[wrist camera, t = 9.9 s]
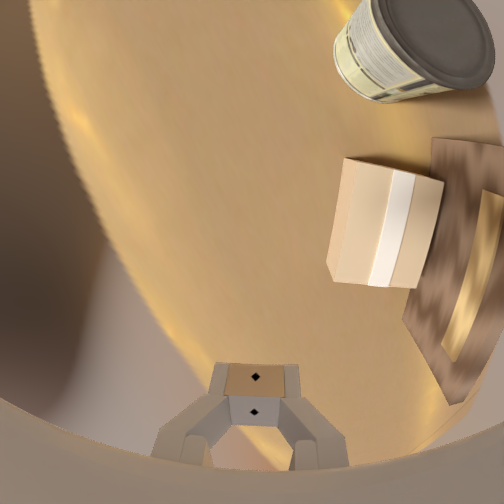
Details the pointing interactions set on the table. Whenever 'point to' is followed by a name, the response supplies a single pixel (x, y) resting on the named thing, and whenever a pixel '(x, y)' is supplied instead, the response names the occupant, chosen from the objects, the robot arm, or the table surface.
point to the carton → (382, 225)
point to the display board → (462, 267)
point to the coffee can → (414, 48)
